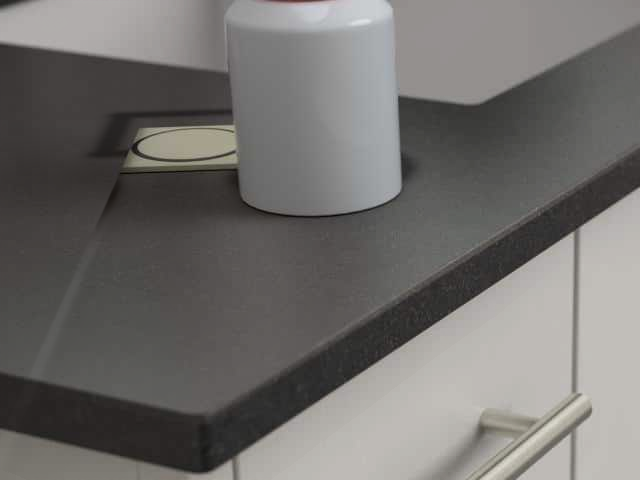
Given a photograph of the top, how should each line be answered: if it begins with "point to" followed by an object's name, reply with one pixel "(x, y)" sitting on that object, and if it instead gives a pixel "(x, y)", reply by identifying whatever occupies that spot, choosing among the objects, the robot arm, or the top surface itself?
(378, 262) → the top surface
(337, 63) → the pill bottle
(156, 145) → the coaster
